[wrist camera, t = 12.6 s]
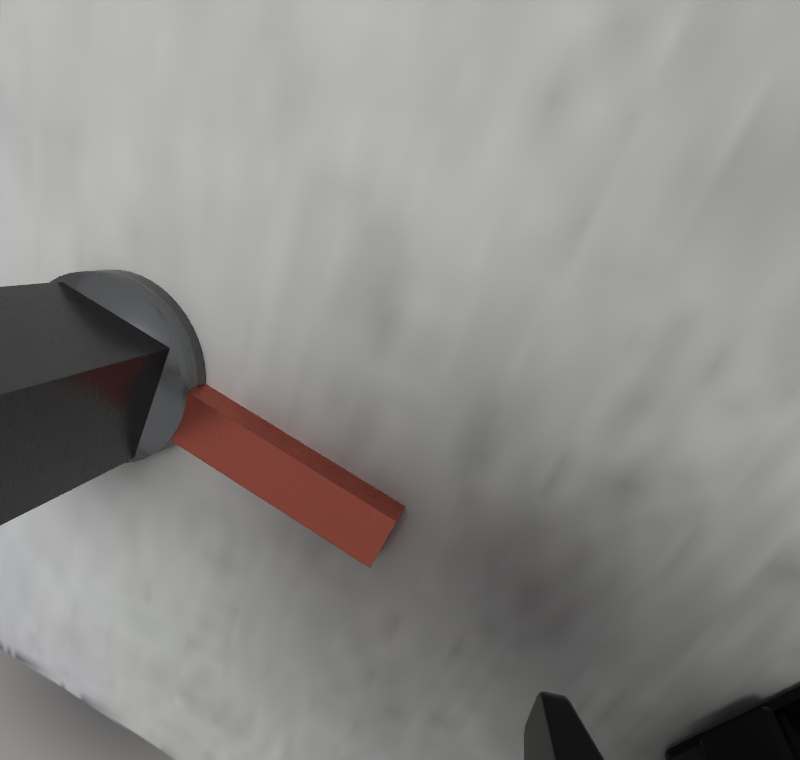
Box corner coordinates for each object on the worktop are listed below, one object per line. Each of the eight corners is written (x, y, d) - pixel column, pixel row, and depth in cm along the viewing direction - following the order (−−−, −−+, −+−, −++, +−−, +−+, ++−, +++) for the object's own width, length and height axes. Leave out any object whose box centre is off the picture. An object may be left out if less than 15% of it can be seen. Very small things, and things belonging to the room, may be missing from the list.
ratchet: (437, 450, 20) (407, 497, 17) (352, 599, 23) (311, 667, 20) (74, 235, 23) (-21, 235, 19) (37, 393, 26) (-52, 419, 22)
